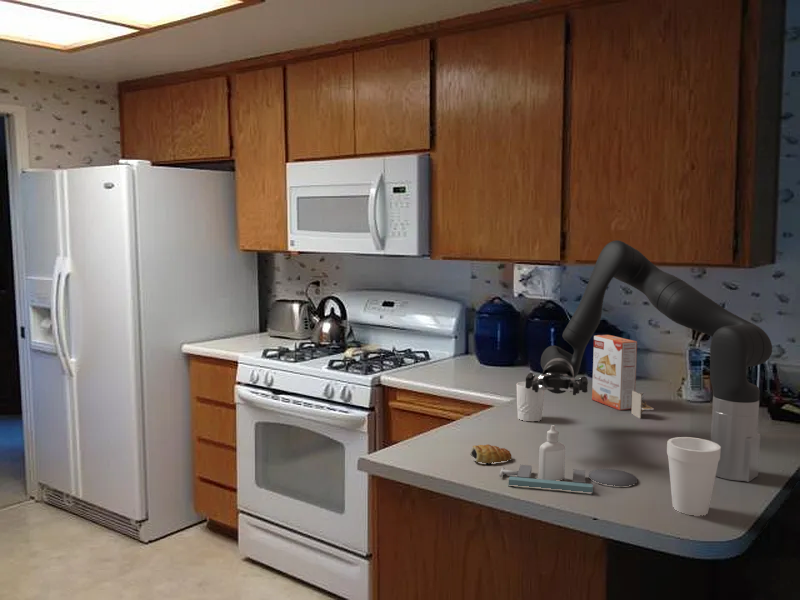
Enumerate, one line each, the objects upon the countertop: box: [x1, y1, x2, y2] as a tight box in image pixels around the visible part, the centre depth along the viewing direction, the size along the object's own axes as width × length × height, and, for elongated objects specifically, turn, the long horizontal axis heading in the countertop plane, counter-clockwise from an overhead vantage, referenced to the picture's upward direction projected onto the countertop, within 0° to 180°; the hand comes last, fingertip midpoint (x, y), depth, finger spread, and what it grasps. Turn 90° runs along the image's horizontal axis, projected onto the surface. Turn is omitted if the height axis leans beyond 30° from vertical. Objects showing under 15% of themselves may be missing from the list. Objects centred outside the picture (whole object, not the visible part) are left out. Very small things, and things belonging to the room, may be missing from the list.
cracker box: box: [591, 334, 638, 411], centre depth 223 cm, size 14×6×21 cm, turn 21°
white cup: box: [515, 381, 545, 422], centre depth 206 cm, size 8×8×10 cm
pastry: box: [469, 444, 513, 464], centre depth 169 cm, size 9×7×4 cm
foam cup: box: [666, 436, 721, 517], centre depth 140 cm, size 10×9×13 cm
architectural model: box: [631, 390, 655, 420], centre depth 210 cm, size 3×7×7 cm, turn 8°
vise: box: [498, 464, 594, 494], centre depth 155 cm, size 19×10×2 cm, turn 76°
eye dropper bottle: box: [537, 424, 566, 481], centre depth 156 cm, size 4×6×12 cm
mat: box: [588, 468, 638, 486], centre depth 157 cm, size 10×10×1 cm
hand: (555, 389), depth 165 cm, fingers open, 8 cm apart
